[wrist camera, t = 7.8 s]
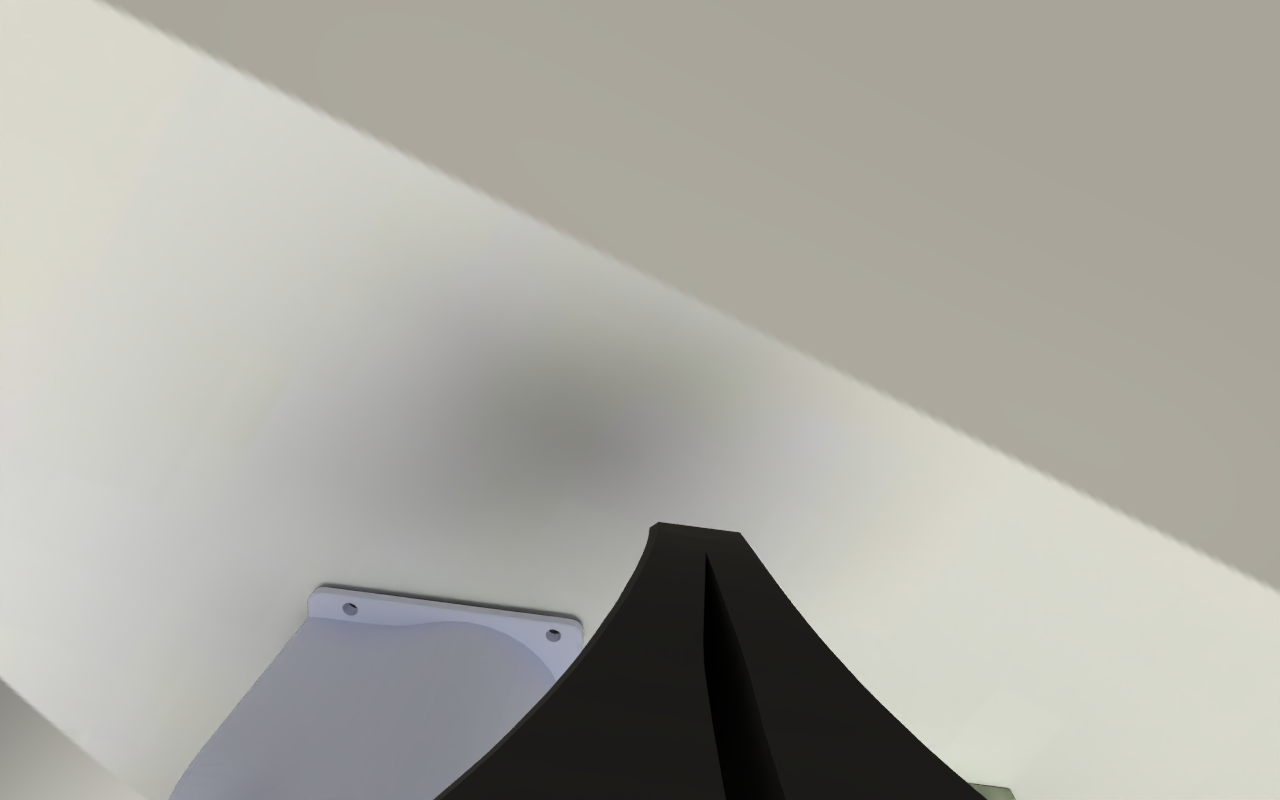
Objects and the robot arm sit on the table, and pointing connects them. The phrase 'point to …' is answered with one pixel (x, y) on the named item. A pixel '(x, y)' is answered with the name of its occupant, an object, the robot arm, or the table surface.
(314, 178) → the table surface
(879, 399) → the table surface
